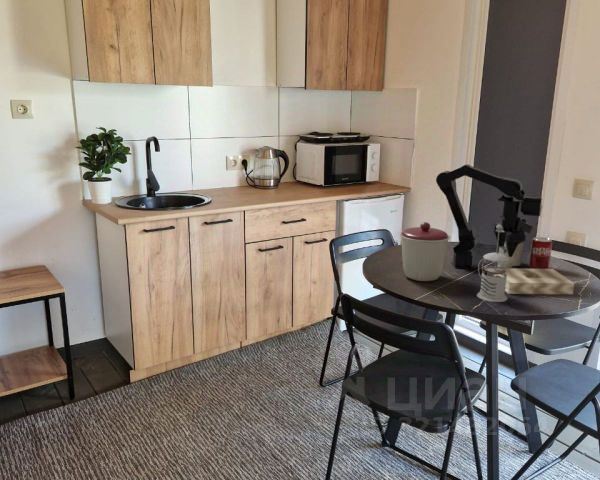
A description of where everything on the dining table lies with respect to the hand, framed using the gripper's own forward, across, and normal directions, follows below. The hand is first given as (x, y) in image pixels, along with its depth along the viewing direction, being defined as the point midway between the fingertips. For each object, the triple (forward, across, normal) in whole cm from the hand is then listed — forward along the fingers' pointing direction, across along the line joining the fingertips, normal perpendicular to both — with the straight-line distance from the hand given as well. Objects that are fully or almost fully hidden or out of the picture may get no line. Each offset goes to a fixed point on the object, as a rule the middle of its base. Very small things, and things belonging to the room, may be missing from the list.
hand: (505, 253), depth 197 cm
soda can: (+8, +6, -16) cm, 19 cm away
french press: (+8, -25, +14) cm, 30 cm away
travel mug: (+8, +12, -7) cm, 16 cm away
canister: (+8, -6, +33) cm, 34 cm away
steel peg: (+8, 0, 0) cm, 8 cm away
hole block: (+8, -15, -4) cm, 18 cm away
